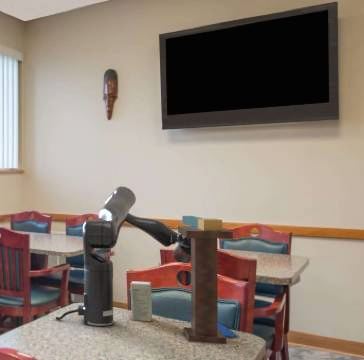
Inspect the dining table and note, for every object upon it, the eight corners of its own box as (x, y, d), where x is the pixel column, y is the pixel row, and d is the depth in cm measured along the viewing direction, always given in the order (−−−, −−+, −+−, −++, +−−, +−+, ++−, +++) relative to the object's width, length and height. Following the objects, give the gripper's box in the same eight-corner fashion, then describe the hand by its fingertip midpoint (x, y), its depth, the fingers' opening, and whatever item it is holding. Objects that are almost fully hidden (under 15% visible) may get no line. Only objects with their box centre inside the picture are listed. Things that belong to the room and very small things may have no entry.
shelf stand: (186, 344, 138) (186, 230, 138) (178, 329, 152) (178, 226, 152) (233, 347, 136) (232, 231, 136) (220, 331, 149) (219, 226, 149)
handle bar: (203, 230, 139) (203, 219, 139) (179, 223, 161) (179, 214, 161) (222, 230, 138) (222, 220, 138) (194, 223, 161) (194, 214, 161)
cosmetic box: (152, 318, 164) (152, 282, 164) (151, 322, 160) (151, 284, 160) (132, 316, 166) (132, 280, 166) (130, 319, 162) (130, 282, 162)
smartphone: (212, 336, 144) (194, 320, 159) (212, 339, 145) (194, 323, 159) (238, 336, 144) (217, 320, 159) (238, 339, 144) (217, 323, 159)
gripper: (210, 258, 175) (217, 253, 160) (168, 252, 179) (171, 247, 164) (212, 237, 176) (219, 230, 161) (169, 232, 181) (173, 225, 166)
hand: (194, 239), depth 163 cm, fingers open, 8 cm apart
